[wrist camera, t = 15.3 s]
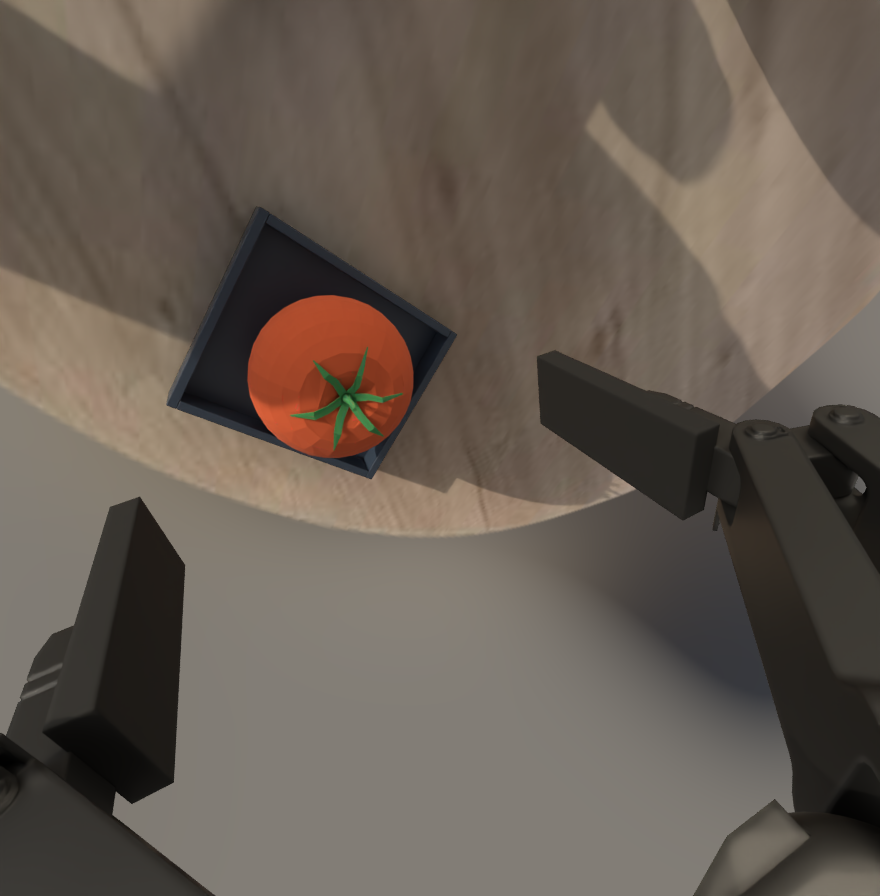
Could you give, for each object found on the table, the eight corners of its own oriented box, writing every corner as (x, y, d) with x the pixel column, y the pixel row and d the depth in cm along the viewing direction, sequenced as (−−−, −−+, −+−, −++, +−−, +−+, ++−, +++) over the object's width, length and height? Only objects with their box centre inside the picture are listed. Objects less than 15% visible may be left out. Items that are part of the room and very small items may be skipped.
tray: (168, 392, 31) (165, 405, 29) (256, 206, 28) (259, 206, 26) (363, 465, 39) (371, 479, 37) (444, 327, 37) (457, 334, 35)
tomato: (223, 295, 29) (228, 332, 21) (379, 274, 32) (435, 299, 24) (263, 438, 34) (280, 511, 26) (395, 408, 37) (445, 465, 29)
